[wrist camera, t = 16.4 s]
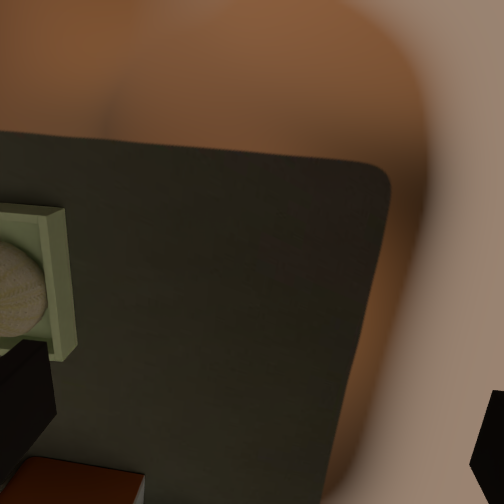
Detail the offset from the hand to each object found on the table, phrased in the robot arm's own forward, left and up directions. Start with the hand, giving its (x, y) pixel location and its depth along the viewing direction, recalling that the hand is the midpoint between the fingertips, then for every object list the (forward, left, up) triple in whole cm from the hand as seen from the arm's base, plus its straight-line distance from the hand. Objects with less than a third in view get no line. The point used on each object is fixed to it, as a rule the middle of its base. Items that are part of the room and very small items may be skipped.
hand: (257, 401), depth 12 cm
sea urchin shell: (+26, -5, -24) cm, 36 cm away
